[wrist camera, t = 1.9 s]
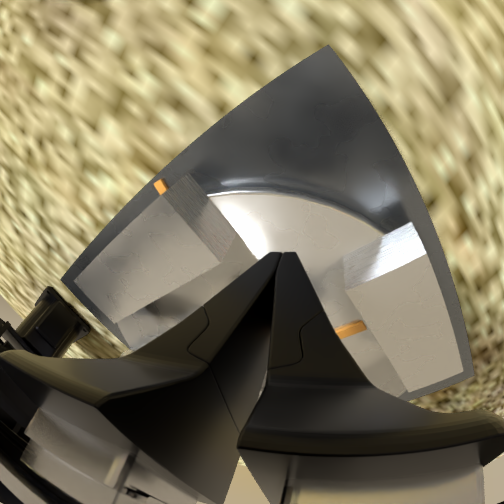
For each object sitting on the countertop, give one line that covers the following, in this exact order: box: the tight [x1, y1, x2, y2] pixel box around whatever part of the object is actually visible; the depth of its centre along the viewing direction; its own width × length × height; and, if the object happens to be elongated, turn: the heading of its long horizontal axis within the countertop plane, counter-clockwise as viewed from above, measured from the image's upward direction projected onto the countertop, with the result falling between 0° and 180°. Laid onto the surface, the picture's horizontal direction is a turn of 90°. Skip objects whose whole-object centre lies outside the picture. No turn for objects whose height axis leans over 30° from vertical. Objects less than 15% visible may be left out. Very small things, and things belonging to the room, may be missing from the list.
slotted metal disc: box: [74, 173, 463, 401], centre depth 18 cm, size 23×23×4 cm
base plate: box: [60, 45, 474, 401], centre depth 20 cm, size 25×25×2 cm
